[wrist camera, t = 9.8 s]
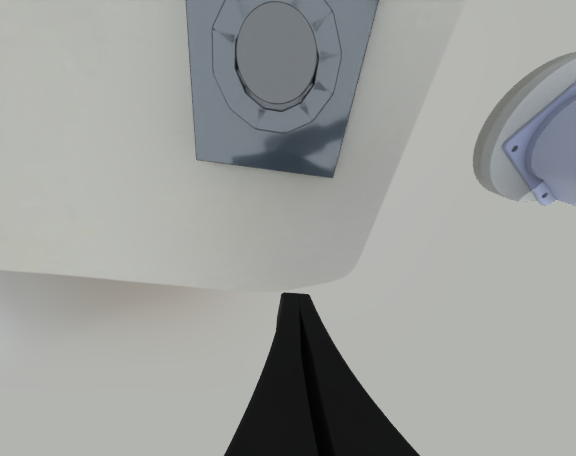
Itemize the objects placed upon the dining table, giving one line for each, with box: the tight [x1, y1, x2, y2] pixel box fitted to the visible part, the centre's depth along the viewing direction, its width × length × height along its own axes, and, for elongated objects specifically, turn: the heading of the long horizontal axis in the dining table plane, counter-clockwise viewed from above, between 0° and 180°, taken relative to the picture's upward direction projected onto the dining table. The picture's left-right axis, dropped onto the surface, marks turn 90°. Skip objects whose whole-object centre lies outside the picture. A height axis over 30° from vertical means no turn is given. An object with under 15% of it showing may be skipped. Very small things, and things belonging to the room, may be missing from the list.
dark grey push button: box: [236, 1, 317, 104], centre depth 10 cm, size 4×4×2 cm
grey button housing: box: [186, 0, 379, 178], centre depth 13 cm, size 12×10×4 cm
